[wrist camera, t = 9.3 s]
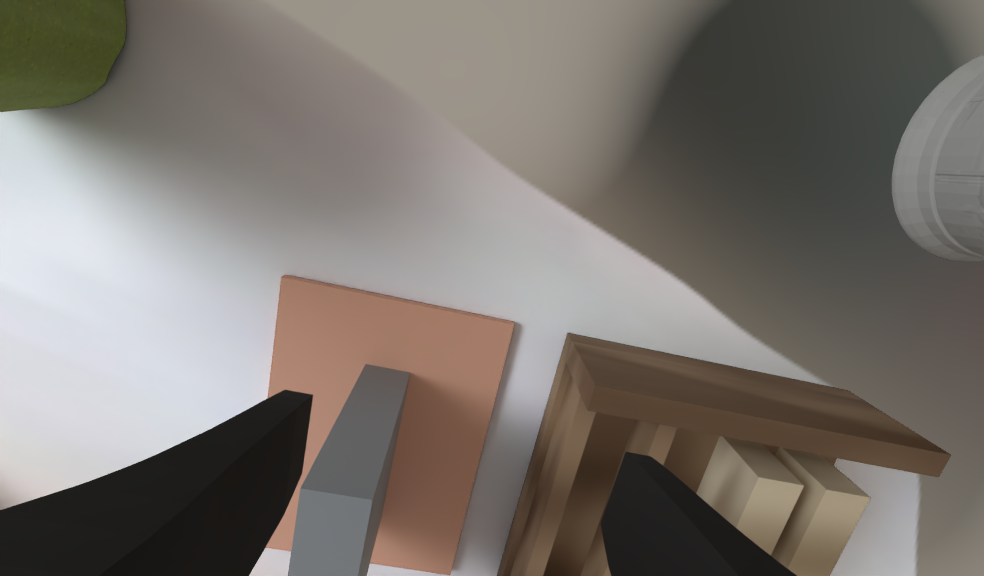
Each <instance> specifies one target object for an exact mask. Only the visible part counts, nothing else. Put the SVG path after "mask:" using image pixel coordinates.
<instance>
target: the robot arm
mask: <svg viewBox="0 0 984 576" xmlns="http://www.w3.org/2000/svg"><path fill="white" fill-rule="evenodd" d="M312 401H313V395H312V394H307V393H301V392H296V391H290V390H283V391H281V392H279V393H277V394H275V395H273V396H271V397H270V398H268V399H266V400H264V401H262V402H260V403H259V404H257V405H255V406H253V407H251V408H249V409H248V410H246V411H244V412H242V413H240V414H238V415H236V416H235V417H233V418H231V419H229V420H227V421H225V422H223V423H221V424H219V425H217V426H216V427H214V428H212V429H210V430H208V431H206V432H204V433H202V434H199V435H197V436H195V437H193V438H191V439H189V440H187V441H185V442H182V443H180V444H178V445H176V446H174V447H172V448H170V449H168V450H166V451H163V452H161V453H159V454H157V455H155V456H152V457H150V458H148V459H145V460H143V461H141V462H138V463H136V464H133V465H131V466H128V467H126V468H123V469H121V470H118V471H115V472H113V473H110V474H108V475H105V476H102V477H100V478H97V479H94V480H92V481H89V482H86V483H83V484H81V485H78V486H75V487H72V488H68V489H65V490H62V491H59V492H56V493H53V494H50V495H47V496H44V497H40V498H37V499H34V500H31V501H28V502H25V503H22V504H19V505H16V506H12V507H9V508H6V509H3V510H0V576H249V574H250V573H251V571H252V569H253V568H254V566H255V564H256V562H257V561H258V559H259V557H260V556H261V554H262V552H263V551H264V549H265V547H266V545H267V544H268V542H269V540H270V539H271V537H272V535H273V533H274V532H275V530H276V528H277V527H278V525H279V523H280V521H281V520H282V518H283V516H284V514H285V511H286V509H287V507H288V505H289V503H290V500H291V498H292V496H293V494H294V491H295V489H296V487H297V484H298V482H299V480H300V477H301V475H302V471H303V464H304V457H305V450H306V443H307V436H308V429H309V422H310V415H311V408H312ZM601 529H602V535H603V541H604V546H605V552H606V556H607V561H608V566H609V570H610V573H611V576H797V575H795V574H794V573H793V572H791V571H790V570H789V569H787V568H786V567H785V566H783V565H782V564H781V563H779V562H778V561H777V560H776V559H774V558H773V557H772V556H771V555H769V554H768V553H767V552H765V551H764V550H763V549H762V548H760V547H759V546H758V545H757V544H755V543H754V542H753V541H752V540H750V539H749V538H748V537H747V536H745V535H744V534H743V533H742V532H741V531H739V530H738V529H737V528H736V527H735V526H733V525H732V524H731V523H730V522H729V521H727V520H726V519H725V518H724V517H723V516H721V515H720V514H719V513H718V512H717V511H716V510H714V509H713V508H712V507H711V506H710V505H709V504H708V503H706V502H705V501H704V500H703V499H702V498H701V497H699V496H698V495H697V494H696V493H695V492H694V491H693V490H691V489H690V488H689V487H688V486H687V485H686V484H684V483H683V482H682V481H681V480H680V479H679V478H678V477H676V476H675V475H674V474H673V473H672V472H670V471H669V470H668V469H667V468H665V467H664V466H663V465H662V464H660V463H659V462H658V461H656V460H655V459H654V458H652V457H651V456H647V455H641V454H636V453H630V452H625V455H624V458H623V460H622V463H621V466H620V469H619V472H618V475H617V478H616V480H615V483H614V486H613V489H612V492H611V495H610V497H609V500H608V503H607V506H606V509H605V512H604V515H603V517H602V520H601Z"/></svg>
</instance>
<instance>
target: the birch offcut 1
mask: <svg viewBox="0 0 984 576" xmlns="http://www.w3.org/2000/svg"><path fill="white" fill-rule="evenodd" d="M803 487H804V485H803V484H802V483H801V482H800V481H799V480H798V479H797V478H796V477H795V476H794V475H793V474H792V473H791V472H790V471H789V470H788V469H787V468H786V467H785V466H784V465H783V464H782V463H781V462H780V461H779V460H778V459H777V458H776V457H775V456H774V455H773V454H772V453H771V452H770V451H769V450H768V449H767V448H766V447H765V446H764V445H763V444H761V443H755V442H750V441H745V440H740V439H734V438H729V437H724V436H720V437H719V439H718V441H717V444H716V446H715V449H714V451H713V454H712V456H711V459H710V461H709V464H708V466H707V468H706V471H705V473H704V476H703V478H702V481H701V483H700V486H699V488H698V490H697V493H696V494H697V495H698V496H699V497H701V498H702V499H703V500H704V501H705V502H706V503H708V504H709V505H710V506H711V507H712V508H713V509H714V510H716V511H717V512H718V513H719V514H720V515H721V516H723V517H724V518H725V519H726V520H727V521H729V522H730V523H731V524H732V525H733V526H735V527H736V528H737V529H738V530H739V531H741V532H742V533H743V534H744V535H745V536H747V537H748V538H749V539H750V540H752V541H753V542H754V543H755V544H757V545H758V546H759V547H760V548H762V549H763V550H764V551H765V552H767V553H768V554H769V555H771V554H772V552H773V550H774V548H775V545H776V543H777V541H778V539H779V537H780V535H781V533H782V531H783V529H784V527H785V525H786V523H787V520H788V518H789V516H790V514H791V512H792V510H793V508H794V506H795V504H796V502H797V500H798V497H799V495H800V493H801V491H802V489H803Z"/></svg>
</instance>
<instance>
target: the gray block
mask: <svg viewBox="0 0 984 576" xmlns="http://www.w3.org/2000/svg"><path fill="white" fill-rule="evenodd" d="M409 377H410V372H405V371H400V370H395V369H390V368H385V367H379V366H374V365H369V364H365V366H364V368H363V370H362V372H361V374H360V376H359V377H358V379H357V381H356V383H355V385H354V387H353V389H352V391H351V393H350V395H349V397H348V398H347V400H346V402H345V404H344V406H343V408H342V410H341V412H340V414H339V416H338V417H337V419H336V421H335V423H334V425H333V427H332V429H331V431H330V433H329V435H328V437H327V438H326V440H325V442H324V444H323V446H322V448H321V450H320V452H319V454H318V456H317V457H316V459H315V461H314V463H313V465H312V467H311V469H310V471H309V473H308V475H307V477H306V478H305V480H304V482H303V484H302V486H301V488H300V494H299V501H298V508H297V515H296V522H295V529H294V536H293V543H292V550H291V557H290V564H289V572H288V576H367V572H368V568H369V564H370V560H371V556H372V552H373V548H374V545H375V541H376V537H377V533H378V529H379V525H380V521H381V517H382V512H383V507H384V502H385V497H386V492H387V487H388V482H389V477H390V472H391V467H392V462H393V457H394V452H395V447H396V442H397V437H398V432H399V427H400V422H401V417H402V412H403V407H404V402H405V397H406V392H407V387H408V382H409Z"/></svg>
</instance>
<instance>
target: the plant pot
mask: <svg viewBox="0 0 984 576" xmlns="http://www.w3.org/2000/svg"><path fill="white" fill-rule="evenodd" d="M125 36H126V14H125V4H124V0H0V112H5V111H16V110H26V109H36V108H46V107H57V106H63V105H67V104H71V103H74V102H77V101H79V100H81V99H84V98H86V97H87V96H89V95H91V94H93V93H94V92H95V91H97V90H98V89H99V88H100V87H101V86H102V85H103V84H104V83H105V82H106V80H107V76H108V74H109V71H110V69H111V67H112V65H113V63H114V61H115V59H116V58H117V56H118V54H119V52H120V51H121V49H122V48H123V45H124V42H125Z"/></svg>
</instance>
